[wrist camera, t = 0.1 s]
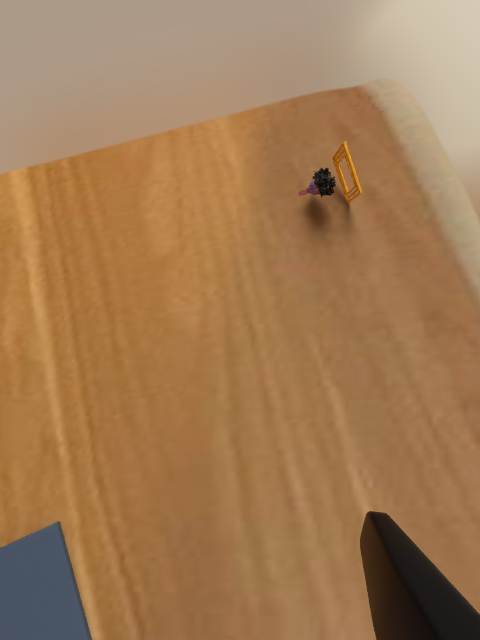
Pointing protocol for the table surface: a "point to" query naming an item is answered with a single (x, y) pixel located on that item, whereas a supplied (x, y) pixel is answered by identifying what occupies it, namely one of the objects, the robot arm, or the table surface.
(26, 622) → the napkin
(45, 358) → the table surface
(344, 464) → the table surface
